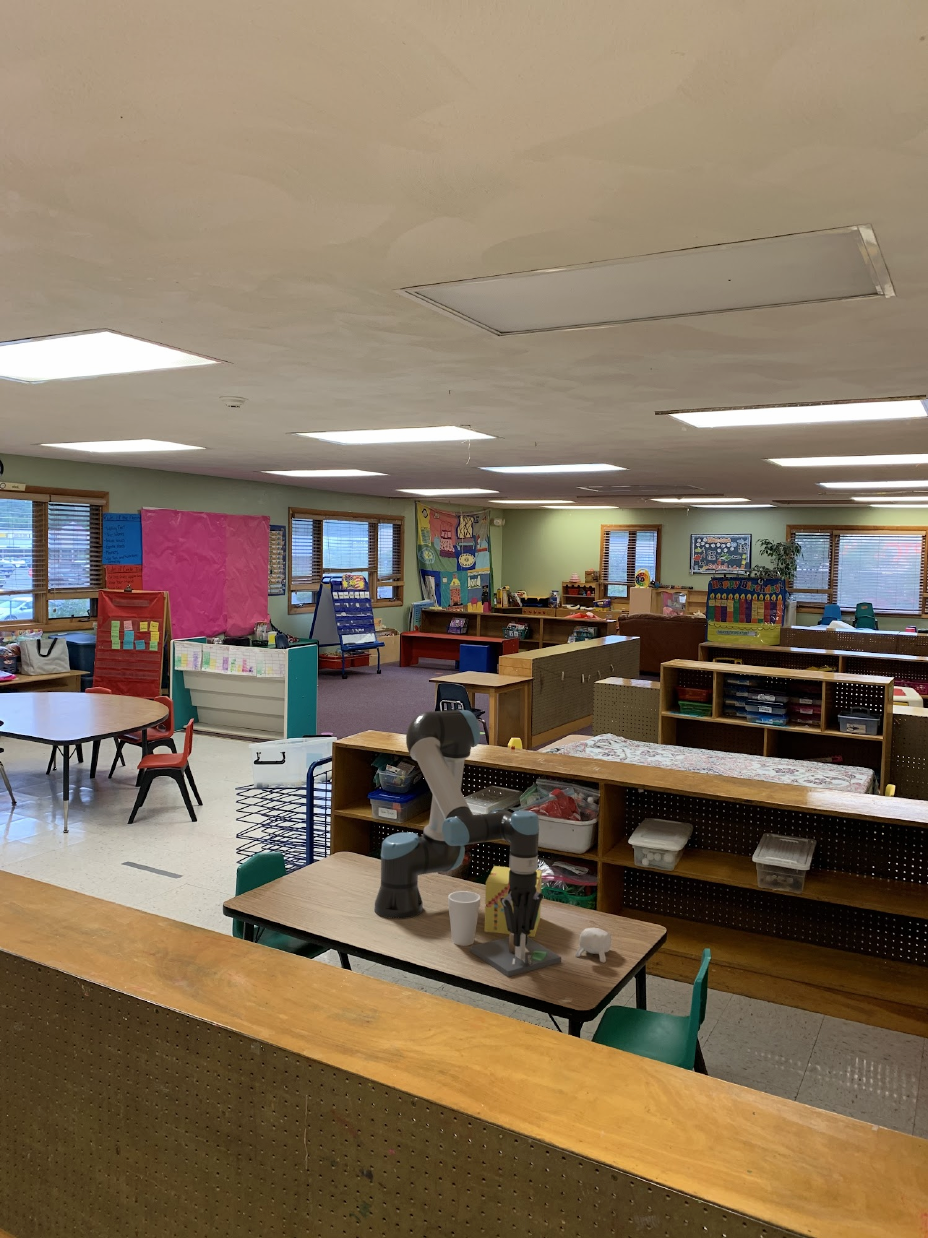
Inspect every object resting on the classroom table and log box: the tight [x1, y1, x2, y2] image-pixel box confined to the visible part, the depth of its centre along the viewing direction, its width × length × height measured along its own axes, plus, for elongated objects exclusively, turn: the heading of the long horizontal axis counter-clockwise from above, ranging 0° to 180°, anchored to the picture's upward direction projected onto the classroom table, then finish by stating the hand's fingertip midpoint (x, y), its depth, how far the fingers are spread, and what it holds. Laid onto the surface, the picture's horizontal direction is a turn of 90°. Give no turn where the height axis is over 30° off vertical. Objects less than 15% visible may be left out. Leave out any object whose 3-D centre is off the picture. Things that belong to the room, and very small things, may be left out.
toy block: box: [484, 865, 543, 938], centre depth 262 cm, size 15×15×15 cm
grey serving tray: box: [470, 936, 562, 978], centre depth 239 cm, size 18×18×2 cm
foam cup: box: [447, 890, 481, 947], centre depth 248 cm, size 10×9×13 cm
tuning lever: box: [508, 932, 532, 966], centre depth 234 cm, size 12×4×5 cm, turn 17°
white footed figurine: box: [574, 927, 612, 963], centre depth 240 cm, size 9×8×15 cm
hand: (519, 957), depth 231 cm, fingers closed
